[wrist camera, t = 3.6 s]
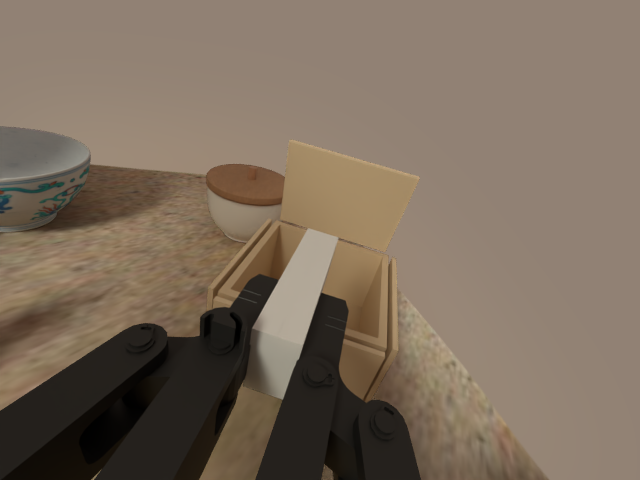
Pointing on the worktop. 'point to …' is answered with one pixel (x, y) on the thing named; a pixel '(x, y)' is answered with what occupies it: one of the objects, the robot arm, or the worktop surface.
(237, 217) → the lidded jar
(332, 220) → the flap
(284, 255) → the carton
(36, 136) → the chinaware
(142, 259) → the worktop surface
